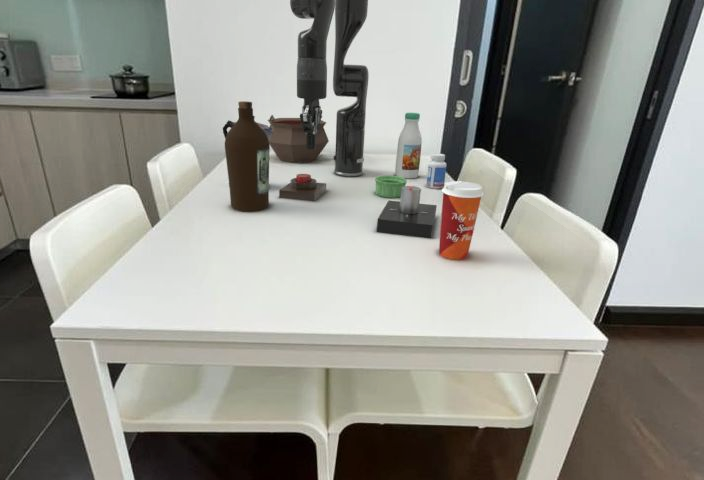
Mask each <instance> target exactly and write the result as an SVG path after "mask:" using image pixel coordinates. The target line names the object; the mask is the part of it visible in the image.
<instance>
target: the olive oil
mask: <svg viewBox="0 0 704 480" xmlns="http://www.w3.org/2000/svg"><path fill="white" fill-rule="evenodd" d="M237 103H238V108H237V113H238V119H237V120H236V121H235V122H236V123H235V124H234V126H233V127H232V128H230V129H229V130H228V131H227V132H228V133H227V135H226V139H224V151H225V161H226V169H227V178H228V185H229V196H230V206H231V208H232V209H233V210H236V211H239V212H259V211H263V210H266V209H268V208H269V205H270V204H269V202H270V194H269V193H270V151H271V149H270V148H271V146H270V145H269V140H268V137H267V135H266V133H265V132H264V131H263V130H262V128H261V127H260V126H259V125H258V124H257V123H258V122H257V123H256V120H255V118H254V119H253V116H254V108H253V101H246V100H245V101H238V102H237Z"/></svg>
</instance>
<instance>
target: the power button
mask: <svg viewBox="0 0 704 480" xmlns="http://www.w3.org/2000/svg"><path fill="white" fill-rule="evenodd" d="M295 178H296V181H297V182H311V178H312V175H311V174H310V173H298V174H296V177H295Z"/></svg>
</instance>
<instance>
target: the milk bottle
mask: <svg viewBox="0 0 704 480" xmlns="http://www.w3.org/2000/svg"><path fill="white" fill-rule="evenodd" d="M420 116H421V114H420V113H419V112H405V114H404V125H403V127H402V130H401V131H400V134H399V136H398V140H397V147H396V148H397V149H396V159H395V171H394V172H395V173H394V176H397V177H402V178H405V179H417V178H418V177H419V172H420V166H421V165H420V164H421V156H422V143H423V141H422V134H421V131H420V130H421V129H420V127H419V126H420V125H419V122H420V118H421V117H420Z"/></svg>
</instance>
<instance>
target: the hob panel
mask: <svg viewBox="0 0 704 480" xmlns="http://www.w3.org/2000/svg"><path fill="white" fill-rule="evenodd" d="M437 207H438V205H437V204H431V203H429V204H428V203H420V202H419V211H418V213H417V214H404V213H401V212H400V211H399V209H400V201H399V200H389V199H388V201H387V202H386V203H385V206H384V208H383V209H382V211H381V213H380V214H379V216H378V218H377V220H376V221H377V222H376V233H383V234H393V235H402V236H410V237H418V238H419V237H420V238H425V239H431V238H432V236H433V231H434V230H433V229H434V226H435V220H436V215H437Z"/></svg>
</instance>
